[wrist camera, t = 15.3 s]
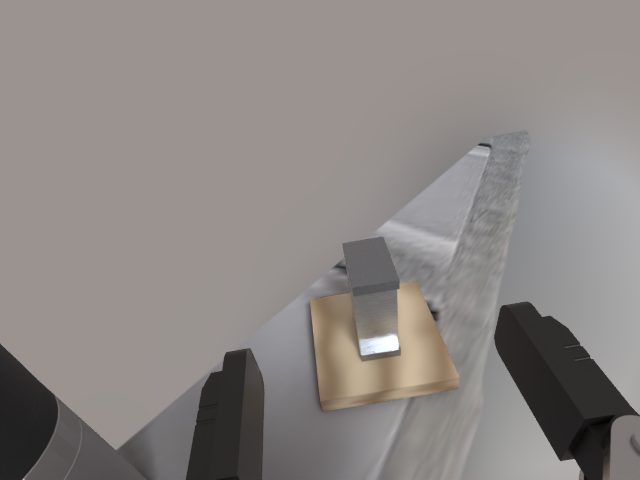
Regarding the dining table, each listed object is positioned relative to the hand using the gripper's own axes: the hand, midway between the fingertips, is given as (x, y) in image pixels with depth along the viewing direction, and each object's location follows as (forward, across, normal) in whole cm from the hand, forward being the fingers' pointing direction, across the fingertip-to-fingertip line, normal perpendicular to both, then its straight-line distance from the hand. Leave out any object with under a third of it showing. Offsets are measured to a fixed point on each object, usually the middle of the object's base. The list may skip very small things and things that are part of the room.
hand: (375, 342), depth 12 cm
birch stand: (+21, -3, +30) cm, 37 cm away
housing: (+21, -3, +27) cm, 34 cm away
